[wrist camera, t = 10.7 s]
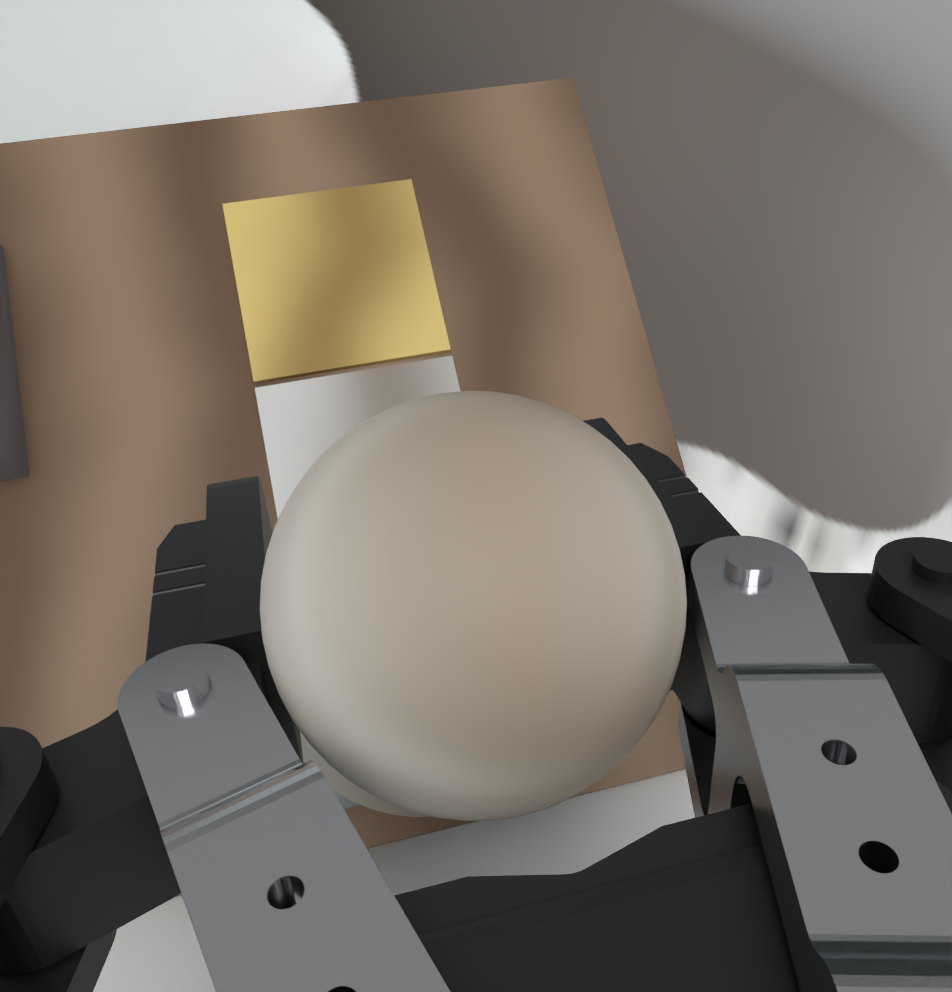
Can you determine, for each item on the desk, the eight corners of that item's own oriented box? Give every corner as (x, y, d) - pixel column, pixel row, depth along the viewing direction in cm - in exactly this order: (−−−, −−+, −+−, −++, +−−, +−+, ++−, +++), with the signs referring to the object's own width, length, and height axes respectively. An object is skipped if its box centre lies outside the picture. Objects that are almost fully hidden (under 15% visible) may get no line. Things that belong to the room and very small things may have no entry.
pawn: (296, 845, 16) (206, 1025, 6) (248, 541, 17) (112, 299, 7) (596, 774, 17) (915, 836, 7) (530, 491, 18) (728, 222, 8)
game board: (-248, 998, 21) (-337, 1036, 19) (-275, 193, 26) (-349, 132, 24) (752, 748, 26) (797, 751, 23) (567, 94, 30) (586, 32, 28)
